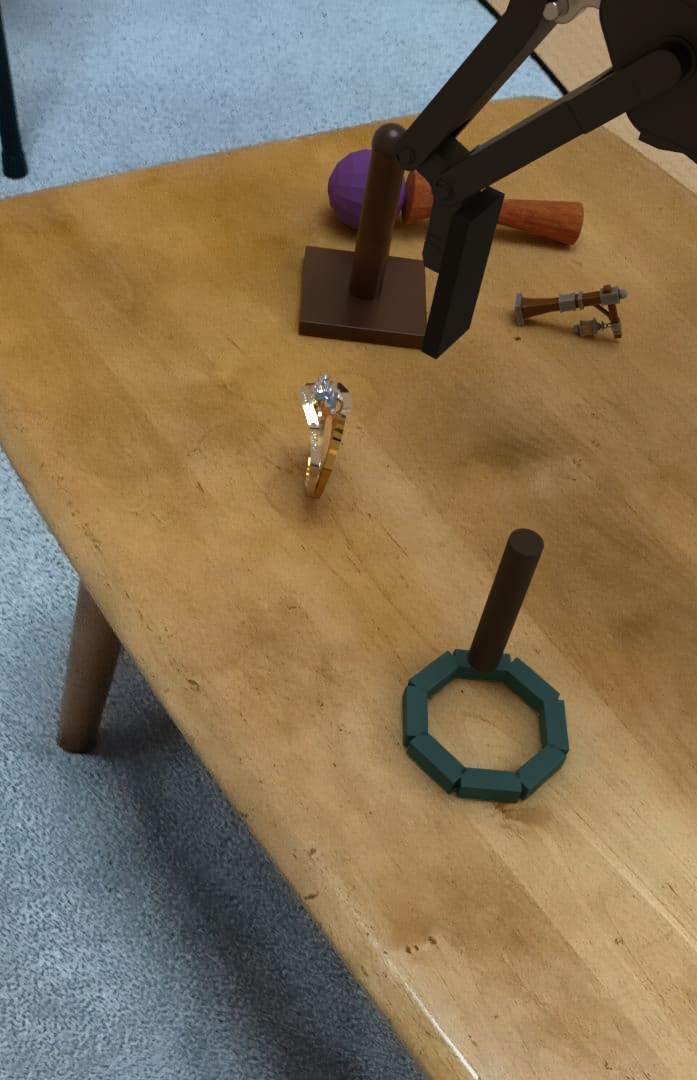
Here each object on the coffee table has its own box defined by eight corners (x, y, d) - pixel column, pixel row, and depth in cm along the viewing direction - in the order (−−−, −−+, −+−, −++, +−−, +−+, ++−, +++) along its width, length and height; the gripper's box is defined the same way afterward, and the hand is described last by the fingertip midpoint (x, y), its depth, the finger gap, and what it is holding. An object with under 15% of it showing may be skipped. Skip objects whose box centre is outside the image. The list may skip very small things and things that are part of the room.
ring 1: (291, 441, 80) (305, 345, 74) (340, 448, 80) (358, 353, 74) (280, 520, 75) (293, 424, 69) (332, 528, 75) (350, 433, 70)
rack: (422, 273, 94) (460, 99, 83) (424, 349, 88) (465, 173, 77) (304, 258, 93) (327, 81, 83) (298, 334, 87) (322, 154, 77)
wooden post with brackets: (633, 342, 90) (625, 290, 87) (524, 353, 93) (513, 304, 90) (634, 327, 91) (626, 276, 88) (526, 339, 94) (516, 289, 91)
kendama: (594, 224, 94) (337, 183, 90) (565, 277, 99) (321, 240, 95) (585, 168, 97) (336, 126, 93) (558, 222, 102) (321, 185, 98)
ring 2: (569, 808, 65) (634, 686, 56) (402, 793, 64) (444, 667, 56) (553, 666, 71) (610, 537, 62) (401, 651, 70) (438, 518, 62)
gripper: (351, -278, 35) (280, 320, 50) (1277, 64, 27) (856, 638, 43) (483, -319, 39) (380, 242, 55) (1308, -34, 32) (916, 518, 48)
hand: (589, 417), depth 49 cm, fingers open, 13 cm apart
